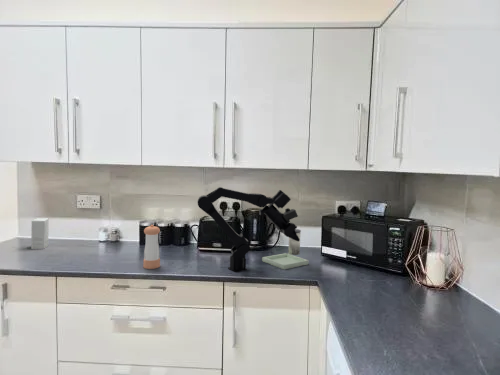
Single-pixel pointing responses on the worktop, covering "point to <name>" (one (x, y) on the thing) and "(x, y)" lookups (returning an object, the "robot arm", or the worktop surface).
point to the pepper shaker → (151, 248)
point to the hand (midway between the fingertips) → (297, 239)
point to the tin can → (294, 244)
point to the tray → (285, 261)
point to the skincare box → (39, 233)
